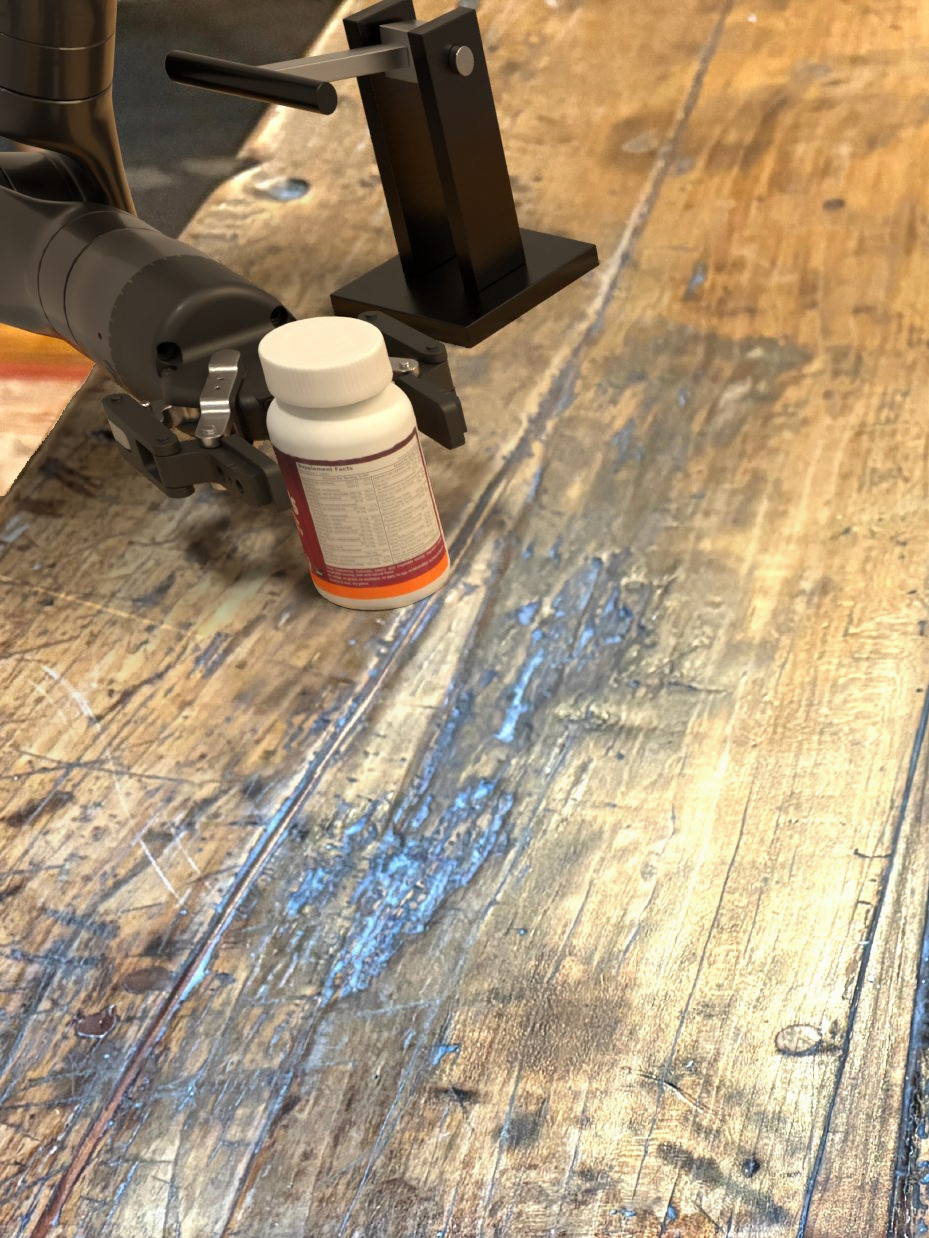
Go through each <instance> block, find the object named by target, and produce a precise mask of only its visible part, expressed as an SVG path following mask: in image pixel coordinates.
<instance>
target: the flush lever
mask: <svg viewBox="0 0 929 1238" xmlns="http://www.w3.org/2000/svg"><path fill="white" fill-rule="evenodd" d="M416 19H417V18H416ZM416 19H414V20H408V21H402V22H396V23H391V24H385V25H380V26H379V27H380V35H381V44H379V45H374V46H368V47H363V48H357V49H351V50H349V49H346V50H341V51H336V52H329V53H323V54H318V55H311V56H306V57H301V58H296V59H290V60H289V59H288V60H284V61H279V62H273V63H267V64H262V65H255V66H254V65H250V64H246V63H245V64H244V63H241V62H235V61H231V60H226V59H222V58H221V59H220V58H216V57H211V56H208V55H202V54H198V53H193V52H187V51H183V50H178V49H173V50H170V51H169V52H167V54H166V56H165V59H164V70H165V73H166V76H167V78H168V79H170V81H172V82H173V83H175V84H179V85H182V86H183V85H184V86H189V87H193V88H198V89H201V90H206V91H211V92H215V93H220V94H225V95H230V96H235V97H239V98H244V99H248V100H254V101H257V102H261V103H262V102H264V103H268V104H271V105H272V104H273V105H276V106H281V107H286V108H290V109H295V110H298V111H299V110H300V111H304V112H309V113H314V114H318V115H324V116H331V115H332V114H334V112H336V109H337V108H338V102H339V101H338V100H339V99H338V97H339V96H338V92H337V89H336V88H335V86H334V85H333V84H332V82H333V83H334V82H337V81H344V80H348V79H354V78H356V77H359V76H365V75H370V74H375V73H380V72H385V76H386V77H389V78H394V79H398V80H403V81H408V82H413V83H418V80H417V76H416V71H415V67H414V62H413V58H412V53H411V49H410V44H409V40H408V35H407V32H408V31H410V30H412V29H414V28H416V27H418V26H421V25H423V24H425V23H427V22H428V21H425V20H421V19H417V20H416Z"/></svg>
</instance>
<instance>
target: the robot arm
mask: <svg viewBox="0 0 929 1238" xmlns="http://www.w3.org/2000/svg"><path fill="white" fill-rule="evenodd" d="M117 9H118V0H0V138H3V139H5V140H8V141H11V142H14V143H17V144H21V145H25V146H29V147H33V148H37V149H41V151H40V150H38V151H37V150H36V151H0V324H3V325H6V326H10V327H12V328H15V329H19V330H22V331H25V332H28V333H31V334H35V335H38V336H39V335H40V336H44V337H49V338H53V339H57V340H61V341H64V342H65V343H66V344H67V345H69V346H70V347H72V348H73V349H74V350H76V351H77V352H79V353H80V354H81V355H83V356H85V357H86V358H87V359H89V361H91V362H93V363H94V364H95V365H96V366H97V367H98V368H99V369H100V370H101V371H102V373H103V374H104V375H105V376H107V378H109V379H110V380H111V381H112V382H113V383H114V384H116V385H117V386H118V387H119V388H120V389H122V390H123V391H124V392H125V393H124V392H116V393H115V392H114V393H110V394H108V395H106V396H104V397H103V398H102V399H101V404H102V407H103V409H104V412H105V415H106V418H107V420H108V424H109V426H110V430H111V432H112V435H113V438H114V440H115V443H116V445H117V449H118V452H119V455H120V456H121V457H122V458H123V459H124V460H126V461H127V462H128V463H129V464H130V465H131V466H133V467H134V468H135V469H136V470H137V471H138V472H140V474H142V476H144V477H145V478H146V479H147V480H148V481H150V482H151V483H152V484H153V485H154V486H155V487H156V488H158V489H159V491H161V492H162V493H163V494H164V495H165V496H166V497H168V498H170V499H175V500H178V499H179V500H180V499H185V498H189V497H191V496H193V494H194V493H195V492H196V488H195V485H200V484H207V483H208V484H209V483H210V485H211V487H212V488H213V490H214V489H215V490H217V491H228V492H230V493H231V494H233V495H234V496H235V497H237V498H238V499H240V500H242V502H244V503H245V504H247V505H248V506H251V507H255V508H258V509H260V508H262V507H264V508H265V509H267V510H268V511H269V512H270V513H273V514H274V515H277V514H280V513H282V512H286V511H288V510H292V509H291V501H290V497H289V494H288V491H287V487H286V484H285V481H284V477H283V474H282V471H281V469H280V467H279V465H278V462H277V461H275V460H274V459H273V458H272V457H270V456H268V455H267V454H265V452H263V451H261V450H260V448H259V447H263V445H264V441H269V442H271V440H270V436H269V432H268V429H267V422H266V420H267V412H268V409H269V406H270V404H271V402H272V401H273V399H274V398H275V397H274V396H273V395H272V394H271V393H270V391H269V390H268V387H267V383H266V380H265V375H264V371H263V368H262V364H261V361H260V357H259V353H258V347H259V344H260V342H261V340H262V339H263V338H264V336H266V335H267V334H268V333H269V332H271V331H273V330H274V329H276V328H278V327H280V326H283V325H285V324H288V323H291V322H295V321H298V319H297V318H296V317H295V315H294V314H293V313H292V312H291V311H290V310H289V309H288V308H287V307H286V306H285V305H284V304H283V303H282V301H280V300H279V299H278V298H277V297H275V296H274V295H272V294H271V293H270V292H268V291H267V290H265V289H263V288H262V287H260V286H258V285H257V284H256V283H253V282H252V281H250V280H248V279H247V278H246V277H244V276H242V275H241V274H239V273H238V272H236V271H234V270H233V269H231V268H229V267H228V266H226V265H225V264H223V263H221V262H220V261H218V260H217V259H215V258H213V257H212V256H210V255H208V254H207V253H206V252H203V251H202V250H201V249H199V248H197V247H195V246H193V245H190V244H189V243H186V242H184V241H182V240H179V239H175V238H173V237H170V236H168V235H167V234H165V233H163V232H162V231H160V230H158V229H157V228H155V227H154V226H152V225H150V224H149V223H147V222H146V221H144V220H142V219H141V218H139V217H138V214H137V211H136V207H135V203H134V200H133V196H132V193H131V190H130V186H129V183H128V179H127V175H126V171H125V167H124V162H123V156H122V152H121V146H120V142H119V137H118V130H117V126H116V125H117V124H116V120H115V119H116V118H115V113H114V112H115V111H114V103H113V81H114V80H113V79H114V78H113V77H114V65H115V50H116V49H115V46H116V29H117V28H116V27H117V26H116V25H117V13H118V12H117ZM358 319H359V320H362V321H365V322H368V323H370V324H372V325H374V326H375V327H376V328H378V329H379V331H380V332H381V333H382V336H383V338H384V342H385V346H386V349H387V354H388V358H389V361H390V364H391V367H392V372H393V377H392V380H391V382H392V383H393V384H395V385H396V386H398V387H399V388H400V389H401V390H402V391H403V392H404V393H405V394H406V396H407V397H408V399H409V400H410V402H411V405H412V408H413V411H414V415H415V417H416V422H417V427H418V432H420V433H422V434H423V435H425V436H426V437H428V438H429V439H430V440H433V442H436V443H437V444H439V445H440V446H441V447H443V448H445V449H446V450H449V451H451V450H454V449H458V448H460V447H462V446H465V444H466V438H465V434H466V433H468V432H469V431H468V427H467V423H466V418H465V414H464V410H463V406H462V401H461V399H460V396H458V394H457V391H456V386H455V385H454V382H453V378H452V373H451V369H450V364H449V360H448V357H449V356H448V351H447V347H446V345H445V344H444V343H443V342H441V341H437V340H434V339H432V338H431V337H429V336H427V335H425V334H423V333H421V332H419V331H417V330H415V329H413V328H411V327H409V326H407V325H406V324H404V323H402V322H400V321H398V320H396V319H394V318H392V317H390V316H388V315H386V314H384V313H382V312H380V311H367V312H364V313H361V314H360V315H359V316H358ZM126 392H127V393H126ZM138 401H139V402H138ZM172 428H175V429H177V430H178V431H179V432H181V433H183V434H185V435H187V436H189V437H191V439H187V440H183V441H180V439H179V436H178V435H177V434H176V433H174V432H173V431H172V430H171V429H172Z"/></svg>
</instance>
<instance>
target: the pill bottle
mask: <svg viewBox="0 0 929 1238" xmlns="http://www.w3.org/2000/svg"><path fill="white" fill-rule="evenodd" d="M297 320H298V319H297ZM258 353H259V357H260V361H261V364H262V368H263V371H264V375H265V380H266V383H267V387H268V390H269V391H270V393H271V394H272V395H273V396H274V397H275V398H274V399H273V401H272V402H271V404H270V406H269V409H268V412H267V420H266V422H267V429H268V432H269V436H270V440H271V441H270V444H271V446H272V450H273V452H274V455H275V459H276V463H277V464H278V466H279V467H280V469H281V471H282V474H283V477H284V481H285V484H286V487H287V491H288V494H289V497H290V501H291V509H290V510H291V513H292V515H293V520H294V523H295V526H296V529H297V534H298V537H299V539H300V542H301V543H300V544H301V546H302V550H303V553H304V556H305V560H306V562H307V566H308V570H309V573H310V577H311V579H312V582H313V585H314V587H315V589H316V590H317V592H318V594H320V595H321V597H323V598H325V600H328V601H329V602H330V603H333V604H334V605H337V606H341V607H343V608H347V609H351V610H360V611H385V610H392V609H398V608H403V607H406V606H410V605H412V604H416V603H418V602H420V601H422V600H424V599H426V598H428V597H429V596H430V595H433V594H435V592H437V591H438V590H439V589H440V588H441V587H442V586H443V585H444V584H445V582H446V581H447V579H448V577H449V575H450V571H451V559H450V554H449V550H448V546H447V543H446V538H445V537H446V536H445V534H444V530H443V529H444V528H443V525H442V522H441V517H440V513H439V511H438V505H437V502H436V498H435V493H434V490H433V487H432V486H433V485H432V483H431V478H430V474H429V470H428V465H427V461H426V457H425V454H424V449H423V446H422V441H421V437H420V433H419V432H420V431H418V427H417V422H416V417H415V415H414V411H413V408H412V405H411V402H410V400H409V399H408V397H407V396H406V394H405V393H404V392H403V391H402V390H401V389H400V388H399V387H398V386H396V385H395V383H394V382H393V381H392V377H393V372H392V367H391V364H390V361H389V358H388V354H387V349H386V346H385V342H384V338H383V336H382V333H381V332H380V331H379V329H378V328H376V327H375V326H374V325H372V324H370V323H368V322H365V321H362V320H359V319H354V318H347V317H338V316H317V317H308V318H304V319H299V320H298V321H295V322H291V323H288V324H285V325H283V326H280V327H278V328H276V329H274V330H273V331H271V332H269V333H268V334H267V335H266V336H264V338H263V339H262V340H261V342H260V344H259V347H258Z"/></svg>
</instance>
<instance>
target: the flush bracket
mask: <svg viewBox="0 0 929 1238" xmlns="http://www.w3.org/2000/svg"><path fill="white" fill-rule="evenodd" d="M414 19H416V20H418V19H417V14H416V10H415V5H414V1H413V0H380V1H378V2H376V3H374V4H372V5H370V6H367V7H365V8H363V9H361V10H359V11H356V12H354V13H352V14H349V15H348V16H346V17H344V18H342V19H341V21H342V24H343V28H344V33H345V37H346V41H347V46H348V50H351V49H357V48H363V47H368V46H374V45H379V44H381V35H380V27H379V26H380V25H385V24H391V23H396V22H402V21H408V20H414ZM426 22H427V23H425V24H423V25H421V26H418V27H416V28H414V29H412V30H410V31H408V32H407V35H408V40H409V44H410V49H411V53H412V58H413V62H414V67H415V71H416V76H417V80H418V83H413V82H408V81H403V80H398V79H394V78H389V77H386V76H385V72H380V73H375V74H370V75H365V76H359V77H355V79H356V82H357V83H356V84H357V88H358V92H359V96H360V99H361V104H362V107H363V112H364V116H365V119H366V124H367V127H368V128H367V129H368V133H369V136H370V137H369V138H370V142H371V145H372V149H373V153H374V158H375V162H376V166H377V170H378V174H379V179H380V183H381V186H382V191H383V194H384V195H383V196H384V200H385V203H386V207H387V211H388V217H389V219H390V223H391V229H392V233H393V235H394V241H395V244H396V248H397V254H396V255H395V256H393V257H391V258H389V259H388V260H386V261H384V262H382V263H381V264H379V265H377V266H376V267H374V268H373V269H371V270H369V271H367V272H366V273H364V274H362V275H360V276H358V277H357V278H355V279H353V280H352V281H350V282H348V283H347V284H345V285H343V286H342V287H340V288H338V289H336V290H335V291H333V292H331V293H329V300H330V303H331V308H332V311H333V314H334V317H347V318H354V319H358V316H359V315H360V314H361V313H364V312H367V311H380V312H382V313H384V314H386V315H388V316H390V317H392V318H394V319H396V320H398V321H400V322H402V323H404V324H406V325H407V326H409V327H411V328H413V329H415V330H417V331H419V332H421V333H423V334H425V335H427V336H429V337H431V338H432V339H434V340H436V341H438V342H440V343H446V344H450V345H453V346H458V347H462V348H466V349H473V348H475V347H476V346H477V345H479V344H481V343H482V342H484V341H485V340H487V339H488V338H490V337H491V336H493V335H495V334H496V333H497V332H499V331H500V330H502V329H504V328H505V327H507V326H508V325H510V324H511V323H513V322H515V321H516V320H517V319H519V318H520V317H522V316H523V315H525V314H527V313H528V312H530V311H531V310H534V308H536V307H537V306H539V305H541V304H542V303H544V302H545V301H547V300H548V299H549V298H551V297H553V296H554V295H556V294H557V293H559V292H561V291H562V290H563V289H565V288H567V287H568V286H569V285H571V284H572V283H574V282H576V281H577V280H579V279H580V278H582V277H583V276H586V274H588V273H589V272H592V271H593V270H595V269H596V268H597V267H599V266H600V260H599V253H598V248H597V244H595V243H591V242H586V241H583V240H578V239H573V238H569V237H564V236H561V235H555V234H550V233H546V232H543V231H542V232H541V231H537V230H534V229H529V228H524V227H520V223H519V219H518V214H517V209H516V204H515V199H514V195H513V189H512V184H511V179H510V175H509V169H508V165H507V159H506V154H505V149H504V145H503V139H502V134H501V129H500V123H499V119H498V114H497V110H496V104H495V99H494V94H493V89H492V85H491V84H492V83H491V79H490V74H489V69H488V65H487V59H486V55H485V49H484V44H483V40H482V34H481V30H480V24H479V19H478V13H477V10H476V8H473V7H467V6H461V5H460V6H458V7H455V8H453V9H451V10H449V11H447V12H445V13H443V14H441V15H439V16H436V17H435V18H433V19H431V20H429V21H426Z"/></svg>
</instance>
